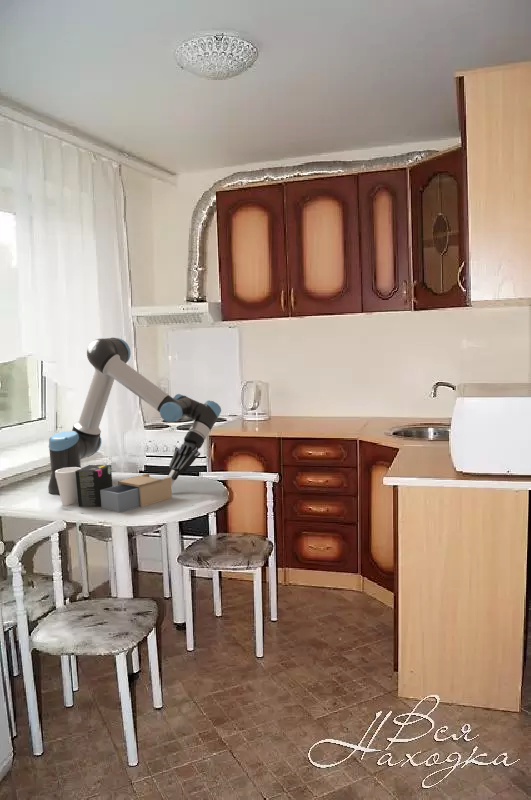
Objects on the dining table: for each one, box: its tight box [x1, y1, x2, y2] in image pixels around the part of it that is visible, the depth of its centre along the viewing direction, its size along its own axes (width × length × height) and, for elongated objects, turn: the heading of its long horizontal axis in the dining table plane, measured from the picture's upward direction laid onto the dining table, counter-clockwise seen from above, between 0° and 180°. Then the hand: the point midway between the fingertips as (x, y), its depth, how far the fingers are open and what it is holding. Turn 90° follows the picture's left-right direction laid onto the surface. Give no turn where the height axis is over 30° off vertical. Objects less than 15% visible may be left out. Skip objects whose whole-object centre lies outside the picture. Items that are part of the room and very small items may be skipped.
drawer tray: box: [100, 484, 140, 513], centre depth 235 cm, size 11×22×7 cm, turn 139°
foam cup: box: [55, 467, 82, 507], centre depth 242 cm, size 10×9×13 cm
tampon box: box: [75, 464, 113, 508], centre depth 237 cm, size 11×9×15 cm
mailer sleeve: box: [117, 473, 173, 508], centre depth 238 cm, size 13×14×9 cm
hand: (167, 486), depth 246 cm, fingers closed
